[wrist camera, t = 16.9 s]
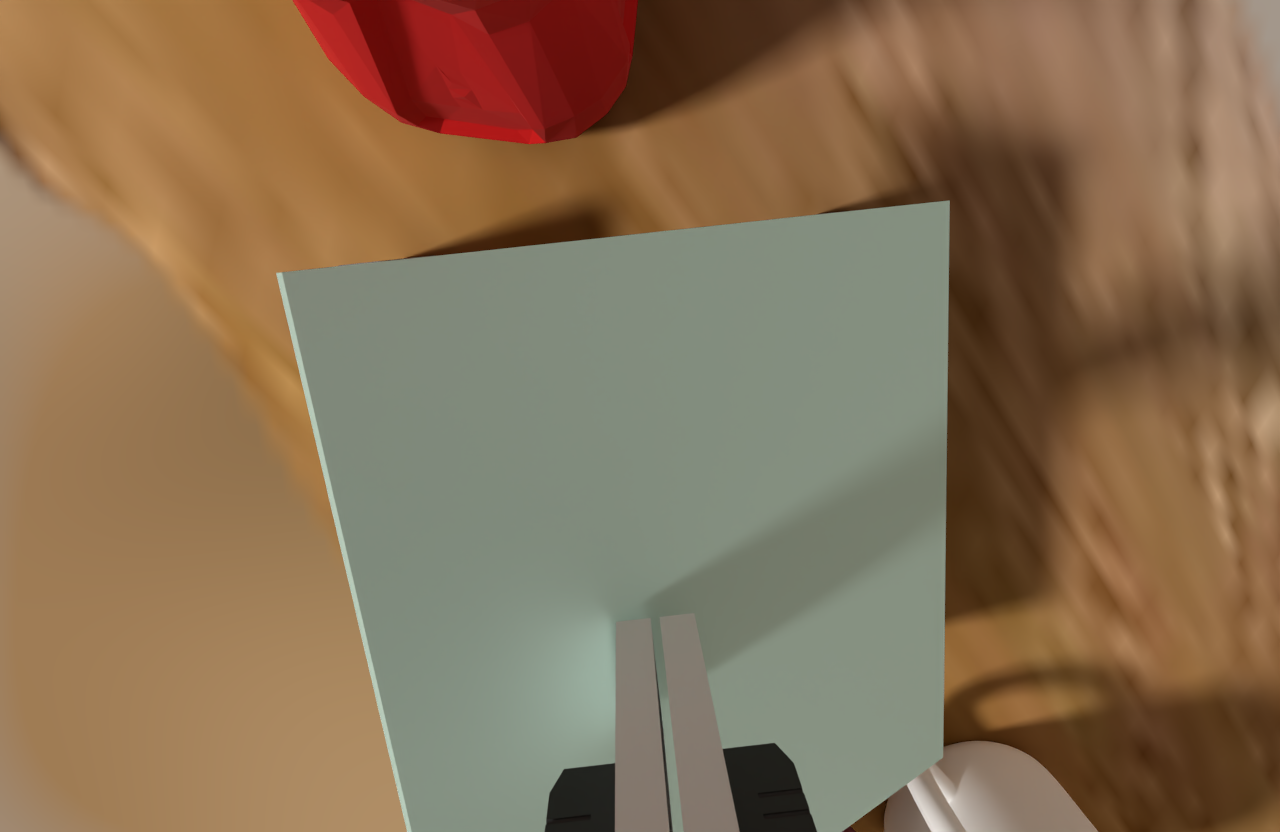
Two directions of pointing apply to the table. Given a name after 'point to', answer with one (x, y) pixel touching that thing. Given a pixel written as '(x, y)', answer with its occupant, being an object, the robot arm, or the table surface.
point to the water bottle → (482, 61)
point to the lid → (642, 497)
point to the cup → (984, 795)
